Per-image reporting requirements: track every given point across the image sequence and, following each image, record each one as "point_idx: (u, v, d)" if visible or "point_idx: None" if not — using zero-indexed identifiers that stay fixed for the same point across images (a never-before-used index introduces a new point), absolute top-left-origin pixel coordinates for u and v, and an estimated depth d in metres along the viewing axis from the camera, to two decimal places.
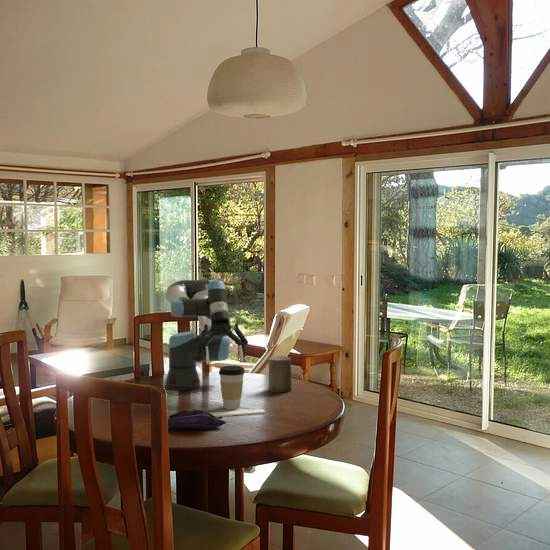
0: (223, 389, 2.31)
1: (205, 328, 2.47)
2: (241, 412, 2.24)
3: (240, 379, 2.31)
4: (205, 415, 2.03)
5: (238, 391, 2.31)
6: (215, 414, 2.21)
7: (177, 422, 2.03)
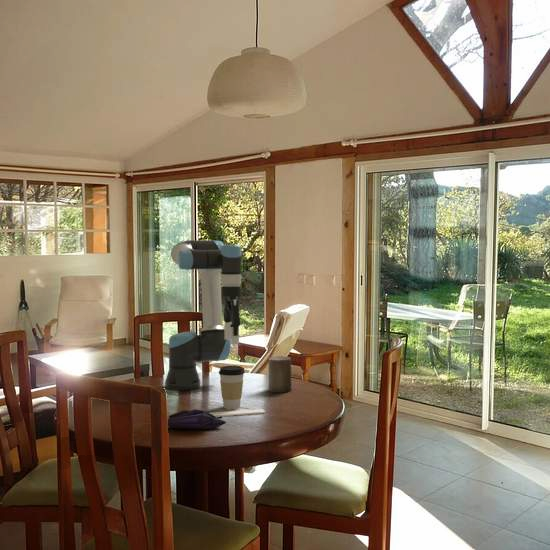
0: (223, 389, 2.31)
1: None
2: (241, 412, 2.24)
3: (240, 379, 2.31)
4: (205, 415, 2.03)
5: (238, 391, 2.31)
6: (215, 414, 2.21)
7: (177, 422, 2.03)
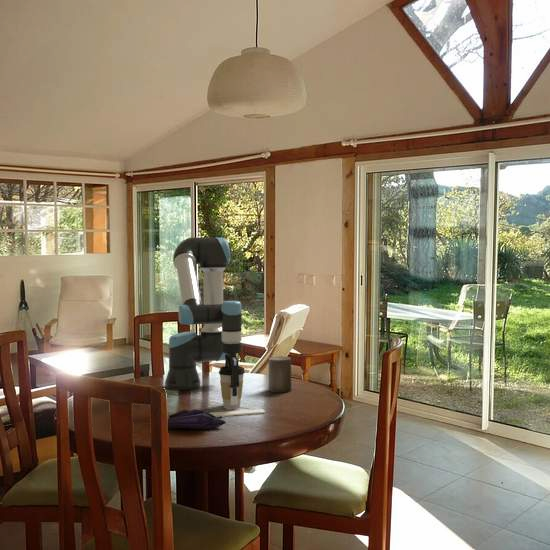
0: (223, 389, 2.31)
1: None
2: (241, 412, 2.24)
3: (240, 379, 2.31)
4: (205, 415, 2.03)
5: (238, 391, 2.31)
6: (215, 414, 2.21)
7: (177, 422, 2.03)
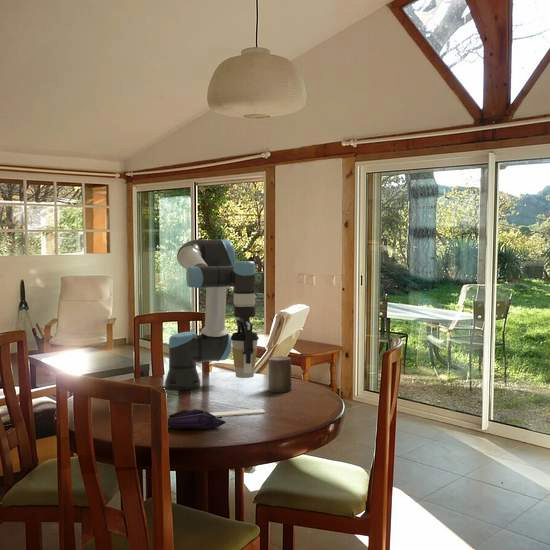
0: (235, 356, 2.12)
1: None
2: (241, 412, 2.24)
3: (254, 346, 2.12)
4: (205, 415, 2.03)
5: None
6: (215, 414, 2.21)
7: (177, 422, 2.03)
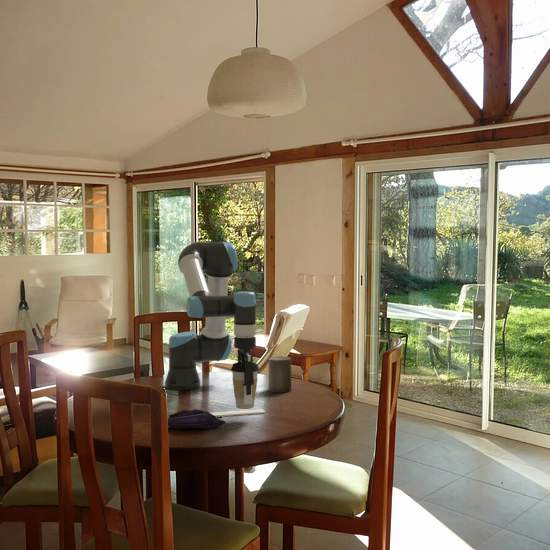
0: (236, 387, 2.12)
1: (252, 361, 2.09)
2: (241, 412, 2.24)
3: (255, 377, 2.12)
4: (205, 415, 2.03)
5: (252, 390, 2.12)
6: (215, 414, 2.21)
7: (177, 422, 2.03)
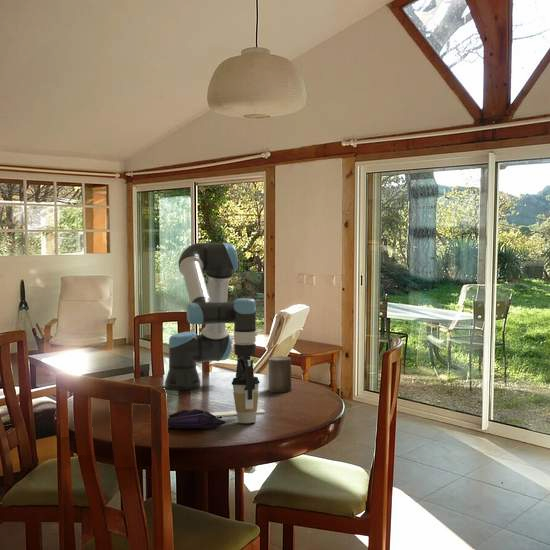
0: (237, 401, 2.11)
1: (252, 366, 2.08)
2: None
3: (255, 389, 2.11)
4: (205, 415, 2.03)
5: (253, 403, 2.11)
6: (215, 414, 2.21)
7: (177, 422, 2.03)
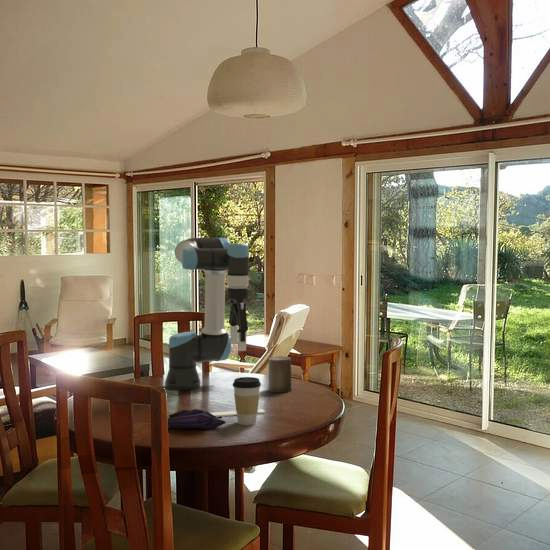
0: (238, 403, 2.10)
1: (245, 308, 2.11)
2: None
3: (257, 392, 2.10)
4: (204, 415, 2.03)
5: (254, 406, 2.10)
6: (215, 414, 2.21)
7: (177, 421, 2.03)
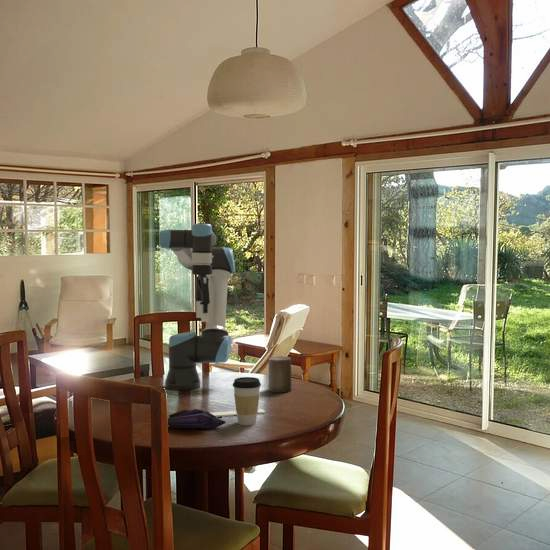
0: (238, 403, 2.10)
1: None
2: None
3: (257, 392, 2.10)
4: (204, 415, 2.03)
5: (254, 406, 2.10)
6: (215, 414, 2.21)
7: (177, 421, 2.04)
